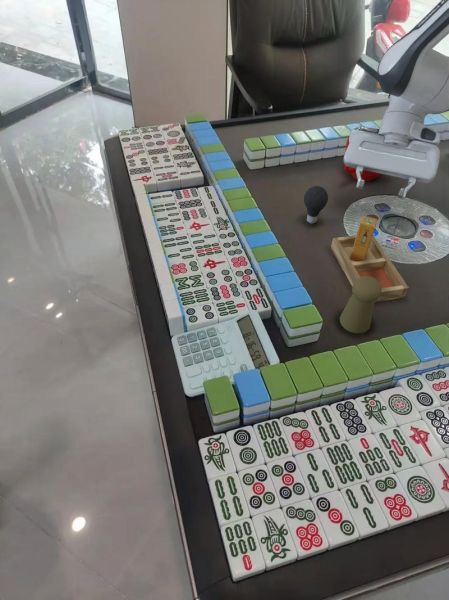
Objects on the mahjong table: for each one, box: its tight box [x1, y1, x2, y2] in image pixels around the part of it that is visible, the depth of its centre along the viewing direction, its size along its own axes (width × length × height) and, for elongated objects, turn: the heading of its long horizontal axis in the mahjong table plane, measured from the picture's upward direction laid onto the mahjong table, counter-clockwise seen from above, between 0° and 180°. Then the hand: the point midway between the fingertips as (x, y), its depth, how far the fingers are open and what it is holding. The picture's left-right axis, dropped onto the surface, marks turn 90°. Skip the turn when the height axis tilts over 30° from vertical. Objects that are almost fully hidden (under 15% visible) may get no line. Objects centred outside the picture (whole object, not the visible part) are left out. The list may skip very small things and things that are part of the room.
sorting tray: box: [330, 234, 409, 303], centre depth 94 cm, size 10×18×3 cm, turn 11°
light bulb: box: [303, 185, 329, 225], centre depth 103 cm, size 6×6×10 cm
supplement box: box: [350, 215, 378, 261], centre depth 94 cm, size 3×3×10 cm
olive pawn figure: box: [339, 276, 382, 334], centre depth 82 cm, size 6×6×11 cm
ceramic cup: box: [343, 134, 382, 182], centre depth 117 cm, size 13×17×10 cm
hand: (379, 192), depth 98 cm, fingers open, 8 cm apart
